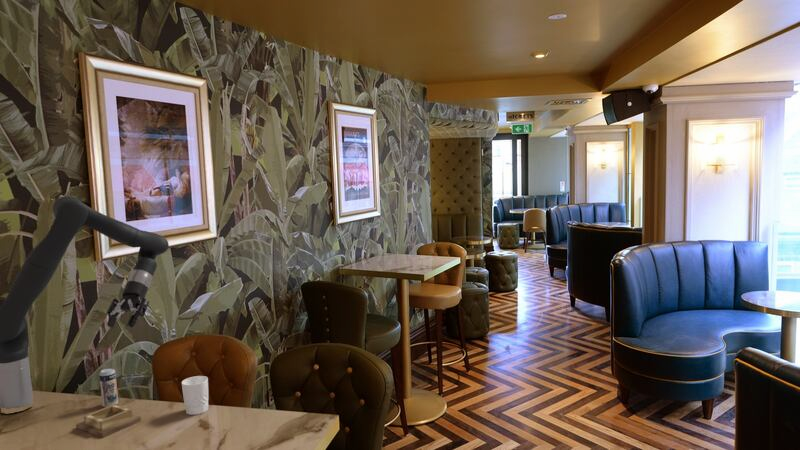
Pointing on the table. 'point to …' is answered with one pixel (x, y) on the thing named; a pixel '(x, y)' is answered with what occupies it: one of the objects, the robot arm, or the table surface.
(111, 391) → the beer can
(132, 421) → the caddy
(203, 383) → the white cup
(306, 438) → the table surface
